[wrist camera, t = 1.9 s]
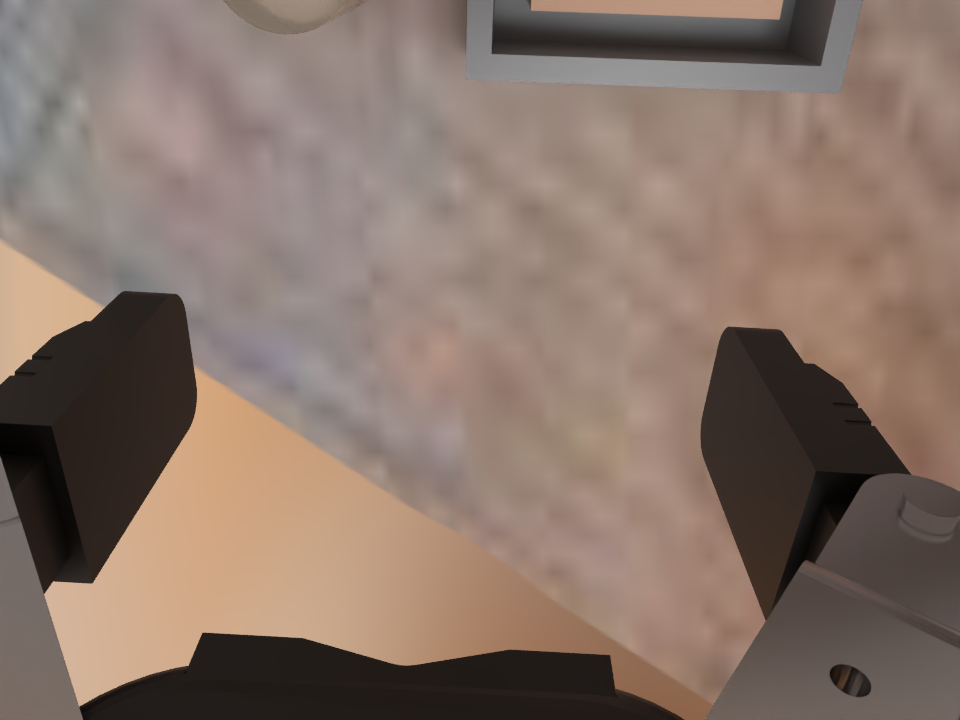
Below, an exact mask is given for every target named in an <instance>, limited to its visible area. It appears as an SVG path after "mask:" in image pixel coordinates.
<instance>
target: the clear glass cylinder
mask: <svg viewBox="0 0 960 720" xmlns="http://www.w3.org/2000/svg"><path fill="white" fill-rule="evenodd" d="M223 1H224V2H225V3H226V4H227V5H228V6H229V7H230V8H231V9H232V10H233V11H234V12H235V13H236V14H237V15H238V16H240V17H241V18H243V19H244V20H245V21H247V22H248V23H250V24H252V25H254V26H256V27H258V28H261V29H263V30H266V31H269V32H273V33H279V34H298V33H304V32H307V31H310V30H313V29H315V28H317V27H319V26H321V25H323V24H325V23H327V22H329V21H331V20H333V19H335V18H337V17H338V16H340V15H342V14H344V13H346V12H348V11H350V10H352V9H354V8H356V7H358V6H360V5H361V4H362V3H364V2H365V1H366V0H223Z"/></svg>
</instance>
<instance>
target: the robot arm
mask: <svg viewBox="0 0 960 720" xmlns="http://www.w3.org/2000/svg"><path fill="white" fill-rule="evenodd" d="M196 402H197V387H196V379H195V373H194V366H193V359H192V352H191V345H190V338H189V331H188V324H187V318H186V311H185V307H184V304H183V301H182V299H181V298H180V297H179V296H178V295H177V294H167V293H150V292H132V291H124V292H122V293H120V294H119V295H118V296H117V297H116V298H115V299H114V300H113V301H112V302H111V303H109V304H108V305H107V306H106V307H105V308H104V309H103V310H102V311H101V312H100V313H99V314H98V315H97V316H96V317H95V318H94V319H93V320H92V321H85V322H83V323H81V324H79V325H76V326H75V327H72V328H70V329H68V330H66V331H64V332H62V333H60V334H58V335H56V336H54V337H52V338H51V339H50V340H49V341H48V342H47V343H46V344H45V345H44V346H42V347H41V348H40V349H39V350H38V351H37V352H36V353H35V354H33V355H32V360H27V361H26V362H25V363H24V364H22V365H21V366H20V367H19V368H18V369H17V370H16V371H15V376H9V377H8V378H7V379H6V380H5V381H4V382H3V383H2V384H1V385H0V720H684V719H682V718H681V717H679V716H678V715H676V714H674V713H672V712H670V711H668V710H666V709H665V708H662V707H661V706H659V705H657V704H655V703H653V702H650V701H648V700H645V699H643V698H640V697H638V696H636V695H633V694H630V693H627V692H624V691H621V690H618V689H615V686H614V679H613V672H612V665H611V659H610V655H596V654H578V653H560V652H559V653H558V652H541V651H523V650H505V651H500V652H493V653H487V654H481V655H475V656H468V657H462V658H456V659H450V660H444V661H438V662H431V663H425V664H420V665H411V666H401V665H395V664H391V663H388V662H384V661H381V660H377V659H374V658H370V657H367V656H363V655H359V654H356V653H353V652H349V651H346V650H342V649H339V648H335V647H332V646H328V645H324V644H321V643H317V642H314V641H310V640H307V639H303V638H288V637H271V636H253V635H234V634H217V633H216V634H215V633H202V635H201V638H200V640H199V643H198V645H197V647H196V650H195V652H194V654H193V657H192V659H191V662H190V664H189V666H185V667H179V668H174V669H170V670H167V671H162V672H159V673H155V674H151V675H148V676H145V677H143V678H140V679H137V680H134V681H131V682H128V683H126V684H123V685H121V686H119V687H117V688H115V689H112V690H110V691H108V692H106V693H104V694H102V695H99V696H98V697H96V698H94V699H92V700H91V701H89V702H87V703H85V704H84V705H82V706H80V707H79V705H78V702H77V699H76V696H75V693H74V689H73V686H72V683H71V680H70V676H69V673H68V670H67V667H66V664H65V660H64V657H63V654H62V651H61V648H60V644H59V641H58V638H57V635H56V632H55V628H54V625H53V622H52V619H51V616H50V612H49V609H48V606H47V603H46V600H45V596H44V593H45V592H46V591H47V589H48V588H49V586H50V585H51V583H52V582H53V581H56V582H57V581H58V582H74V583H93V582H94V580H95V578H96V577H97V575H98V574H99V572H100V570H101V569H102V567H103V566H104V564H105V562H106V561H107V559H108V558H109V556H110V554H111V553H112V551H113V550H114V548H115V546H116V545H117V543H118V542H119V540H120V538H121V537H122V535H123V534H124V532H125V530H126V529H127V527H128V525H129V524H130V522H131V521H132V519H133V518H134V516H135V514H136V513H137V511H138V510H139V508H140V506H141V505H142V503H143V502H144V500H145V498H146V497H147V495H148V494H149V492H150V490H151V489H152V487H153V486H154V484H155V482H156V481H157V479H158V478H159V476H160V474H161V473H162V471H163V470H164V468H165V466H166V465H167V463H168V462H169V460H170V458H171V457H172V455H173V454H174V452H175V450H176V449H177V447H178V446H179V444H180V442H181V441H182V439H183V438H184V436H185V434H186V433H187V431H188V430H189V428H190V426H191V424H192V421H193V418H194V414H195V410H196ZM701 449H702V454H703V458H704V461H705V463H706V466H707V468H708V471H709V474H710V476H711V479H712V481H713V484H714V487H715V489H716V492H717V495H718V497H719V500H720V502H721V505H722V508H723V510H724V513H725V515H726V518H727V521H728V523H729V526H730V529H731V531H732V534H733V536H734V539H735V542H736V544H737V547H738V549H739V552H740V555H741V557H742V560H743V562H744V565H745V568H746V570H747V573H748V576H749V578H750V581H751V583H752V586H753V589H754V591H755V594H756V596H757V599H758V602H759V604H760V607H761V609H762V612H763V615H764V617H765V620H766V622H765V623H764V625H763V627H762V628H761V630H760V631H759V633H758V635H757V636H756V638H755V639H754V641H753V643H752V644H751V646H750V647H749V649H748V651H747V652H746V654H745V655H744V657H743V659H742V660H741V662H740V663H739V665H738V667H737V668H736V670H735V671H734V673H733V674H732V676H731V678H730V679H729V681H728V682H727V684H726V686H725V687H724V689H723V690H722V692H721V694H720V695H719V697H718V698H717V700H716V702H715V703H714V705H713V706H712V708H711V710H710V711H709V713H708V715H707V716H706V718H705V719H704V720H960V492H959V491H958V490H956V489H954V488H952V487H949V486H947V485H945V484H942V483H940V482H937V481H934V480H931V479H927V478H924V477H920V476H915V475H911V474H910V472H909V471H908V470H907V468H906V467H905V466H904V464H903V463H902V462H901V460H900V459H899V458H898V456H897V455H896V454H895V452H894V451H893V450H892V448H891V447H890V446H889V444H888V443H887V442H886V440H885V439H884V438H883V436H882V435H881V434H880V432H879V431H878V430H877V428H876V427H875V426H871V420H870V419H869V418H868V416H867V415H866V414H865V412H864V411H863V410H862V408H858V403H857V402H856V400H855V399H854V398H853V396H852V395H851V394H850V393H849V391H848V390H847V389H846V387H845V386H844V385H843V383H842V382H840V381H839V380H837V379H836V378H834V377H833V376H831V375H830V374H828V373H827V372H825V371H824V370H823V369H821V368H820V367H818V366H817V365H815V364H807V363H804V362H803V361H802V359H801V358H800V356H799V355H798V353H797V352H796V351H795V349H794V348H793V346H792V345H791V343H790V342H789V341H788V339H787V338H786V336H785V335H784V333H783V332H782V331H781V330H778V329H761V328H743V327H727V328H726V329H725V330H724V331H723V333H722V335H721V338H720V341H719V345H718V349H717V354H716V358H715V362H714V367H713V371H712V376H711V380H710V385H709V389H708V393H707V398H706V402H705V407H704V411H703V416H702V422H701Z"/></svg>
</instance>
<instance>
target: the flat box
mask: <svg viewBox="0 0 960 720" xmlns="http://www.w3.org/2000/svg"><path fill="white" fill-rule="evenodd" d="M782 4H783V0H529V6H530V10H531V11H555V12H582V13H610V14H638V15H665V16H693V17H720V18H748V19H776V20H779V19H780V14H781V9H782Z"/></svg>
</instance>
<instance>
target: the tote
mask: <svg viewBox="0 0 960 720" xmlns="http://www.w3.org/2000/svg"><path fill="white" fill-rule="evenodd" d="M862 2H863V0H783V4H782V9H781V14H780V19H779V20H776V19H748V18H720V17H693V16H665V15H638V14H610V13H582V12H555V11H531V10H530V6H529V0H467V39H466V80H491V81H518V82H544V83H571V84H597V85H624V86H651V87H677V88H704V89H730V90H757V91H783V92H810V93H837V94H840V91H841V87H842V83H843V79H844V75H845V71H846V67H847V63H848V59H849V55H850V51H851V46H852V42H853V38H854V34H855V30H856V26H857V22H858V18H859V14H860V10H861V6H862Z"/></svg>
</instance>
